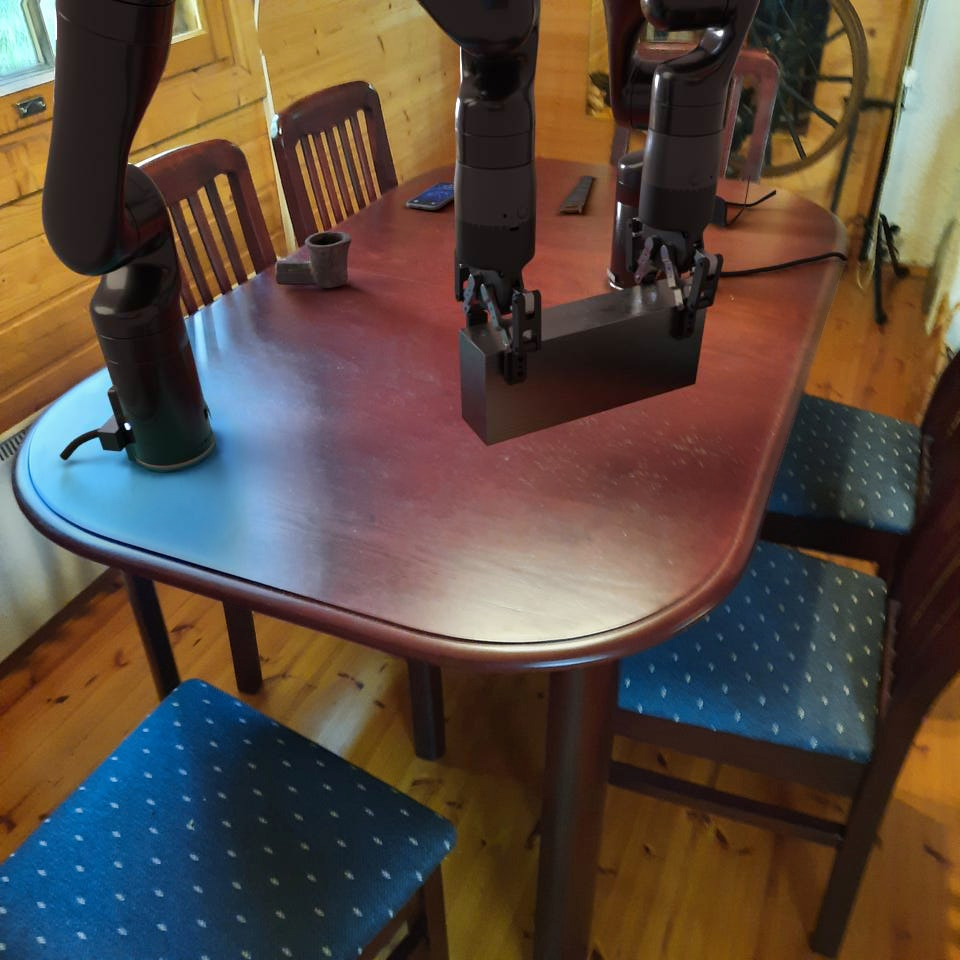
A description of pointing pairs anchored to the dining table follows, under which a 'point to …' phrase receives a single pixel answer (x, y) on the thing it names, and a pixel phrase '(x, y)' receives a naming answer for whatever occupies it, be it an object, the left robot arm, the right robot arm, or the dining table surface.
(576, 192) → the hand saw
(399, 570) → the dining table surface
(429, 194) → the smartphone
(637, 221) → the right robot arm
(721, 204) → the sunglasses
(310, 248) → the pipe
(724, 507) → the dining table surface
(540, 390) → the box
